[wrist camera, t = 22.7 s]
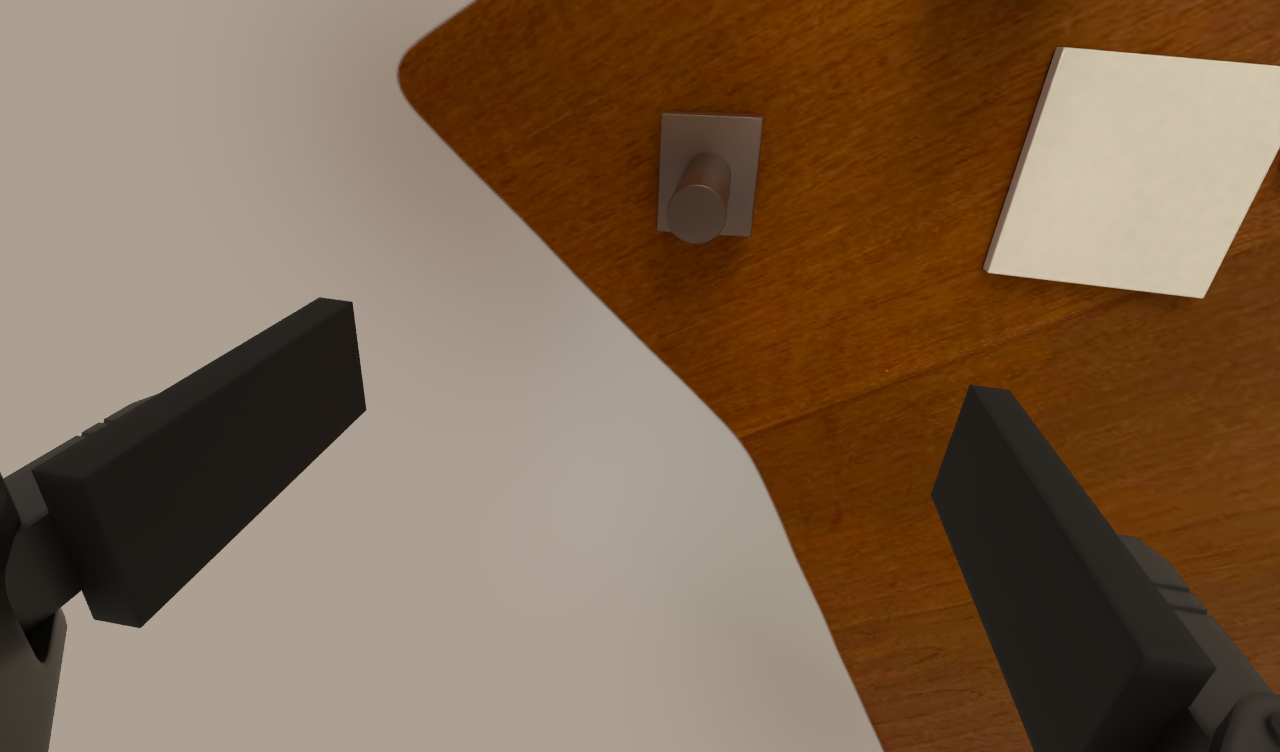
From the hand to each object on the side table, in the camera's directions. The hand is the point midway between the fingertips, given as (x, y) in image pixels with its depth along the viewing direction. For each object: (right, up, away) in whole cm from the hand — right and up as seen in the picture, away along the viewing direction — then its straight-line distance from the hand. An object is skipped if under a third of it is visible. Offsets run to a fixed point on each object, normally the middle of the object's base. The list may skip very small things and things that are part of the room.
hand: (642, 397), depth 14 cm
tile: (+27, +11, +22) cm, 37 cm away
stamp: (+4, +13, +25) cm, 29 cm away
